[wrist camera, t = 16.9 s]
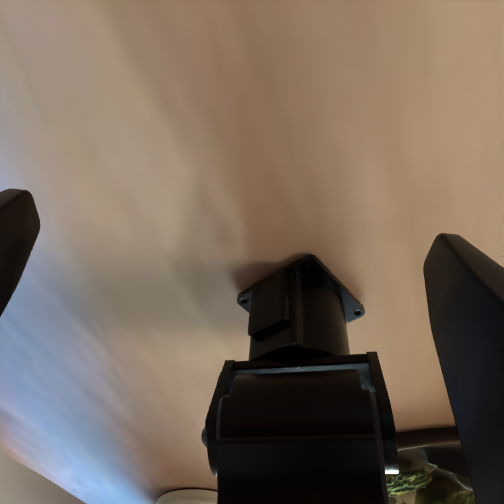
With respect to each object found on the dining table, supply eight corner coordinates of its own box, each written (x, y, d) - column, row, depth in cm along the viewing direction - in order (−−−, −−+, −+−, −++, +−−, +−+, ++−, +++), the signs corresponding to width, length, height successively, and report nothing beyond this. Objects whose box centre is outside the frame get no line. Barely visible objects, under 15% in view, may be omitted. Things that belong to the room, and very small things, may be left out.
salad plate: (532, 501, 48) (551, 549, 44) (372, 511, 53) (378, 555, 49) (542, 415, 37) (569, 470, 33) (337, 437, 41) (342, 487, 38)
